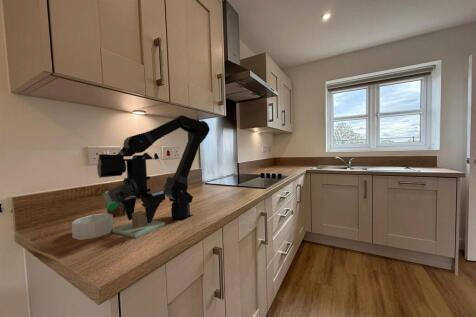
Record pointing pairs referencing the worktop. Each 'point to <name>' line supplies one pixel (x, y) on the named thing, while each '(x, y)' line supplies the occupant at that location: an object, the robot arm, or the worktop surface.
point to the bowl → (92, 226)
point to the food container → (113, 206)
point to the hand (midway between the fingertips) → (139, 221)
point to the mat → (138, 236)
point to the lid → (138, 225)
